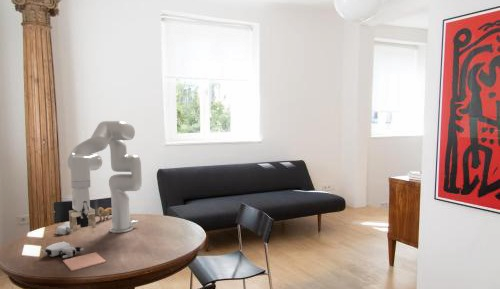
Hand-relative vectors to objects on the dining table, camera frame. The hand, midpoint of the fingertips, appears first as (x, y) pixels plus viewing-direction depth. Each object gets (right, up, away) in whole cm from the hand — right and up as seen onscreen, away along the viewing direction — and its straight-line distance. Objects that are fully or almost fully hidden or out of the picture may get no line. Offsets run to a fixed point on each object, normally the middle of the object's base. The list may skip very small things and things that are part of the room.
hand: (82, 225), depth 160 cm
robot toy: (-13, -16, +10) cm, 23 cm away
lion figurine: (-17, -12, +69) cm, 71 cm away
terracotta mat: (0, -16, +1) cm, 16 cm away
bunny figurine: (-29, -14, +45) cm, 55 cm away
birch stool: (0, -1, 0) cm, 1 cm away
